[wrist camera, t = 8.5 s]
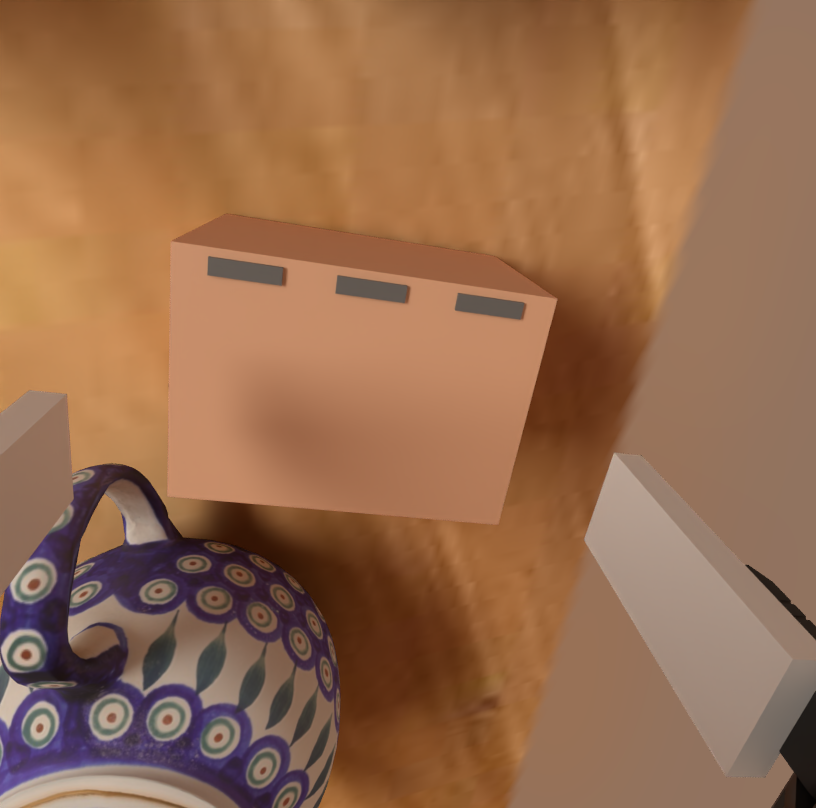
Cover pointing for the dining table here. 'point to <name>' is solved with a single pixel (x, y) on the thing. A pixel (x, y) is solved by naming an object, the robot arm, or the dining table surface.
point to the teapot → (160, 669)
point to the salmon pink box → (347, 371)
